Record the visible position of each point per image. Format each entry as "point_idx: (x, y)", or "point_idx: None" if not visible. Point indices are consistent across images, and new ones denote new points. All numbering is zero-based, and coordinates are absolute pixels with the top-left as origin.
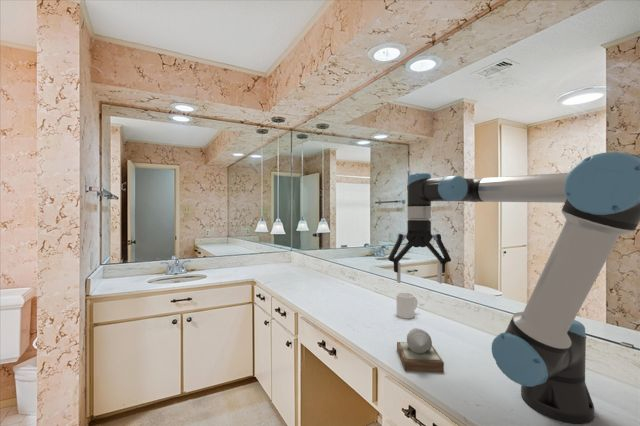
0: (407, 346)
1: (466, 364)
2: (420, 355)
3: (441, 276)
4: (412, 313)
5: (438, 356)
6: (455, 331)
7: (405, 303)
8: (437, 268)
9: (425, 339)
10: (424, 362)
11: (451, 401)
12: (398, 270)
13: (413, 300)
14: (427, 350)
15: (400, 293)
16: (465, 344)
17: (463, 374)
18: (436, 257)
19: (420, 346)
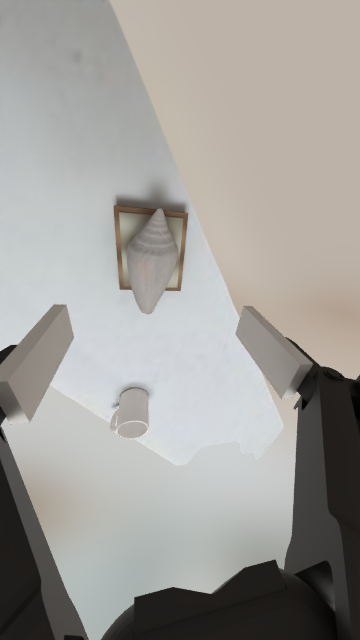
0: None
1: (64, 235)
2: None
3: (41, 323)
4: (124, 397)
5: (118, 233)
6: None
7: (135, 410)
8: (47, 384)
9: (145, 232)
10: (151, 209)
11: (129, 79)
12: (283, 337)
13: (120, 418)
14: None
15: (139, 435)
16: None
17: (79, 195)
18: (13, 461)
19: (162, 209)
